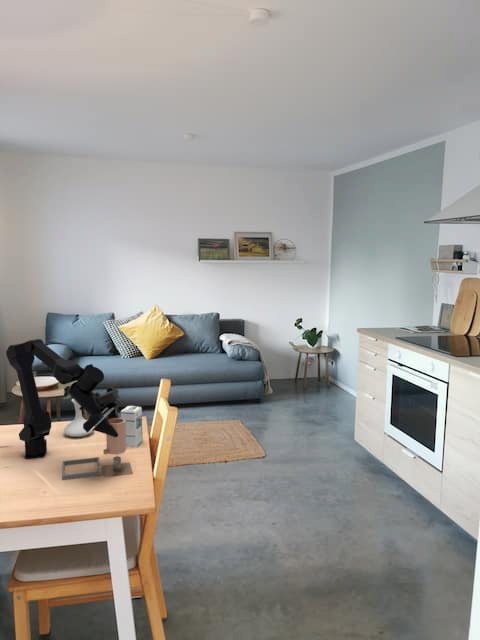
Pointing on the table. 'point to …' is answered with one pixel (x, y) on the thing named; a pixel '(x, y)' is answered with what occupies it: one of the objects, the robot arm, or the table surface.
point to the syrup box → (133, 425)
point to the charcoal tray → (81, 475)
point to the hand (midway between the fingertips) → (120, 432)
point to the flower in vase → (77, 424)
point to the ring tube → (116, 443)
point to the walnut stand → (117, 468)
